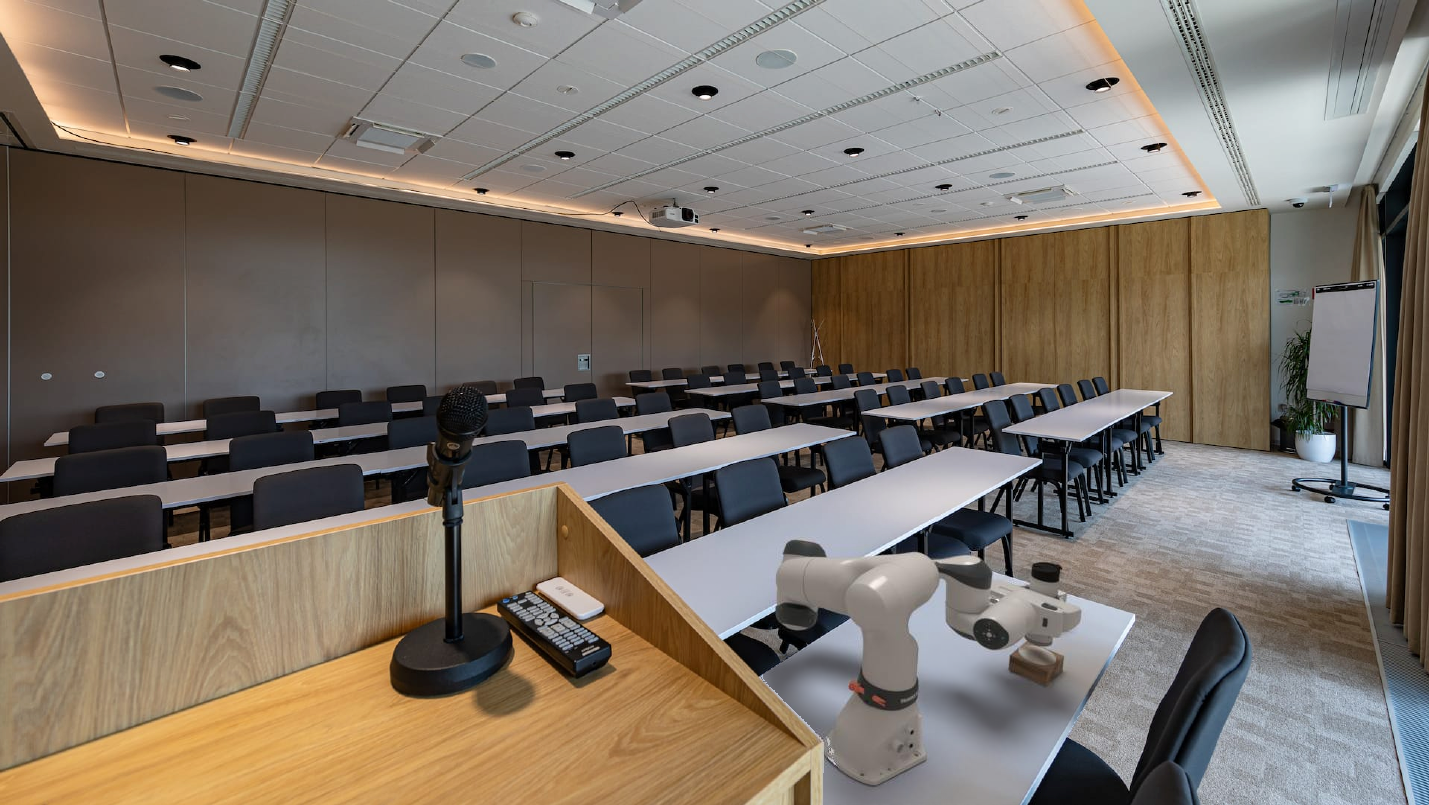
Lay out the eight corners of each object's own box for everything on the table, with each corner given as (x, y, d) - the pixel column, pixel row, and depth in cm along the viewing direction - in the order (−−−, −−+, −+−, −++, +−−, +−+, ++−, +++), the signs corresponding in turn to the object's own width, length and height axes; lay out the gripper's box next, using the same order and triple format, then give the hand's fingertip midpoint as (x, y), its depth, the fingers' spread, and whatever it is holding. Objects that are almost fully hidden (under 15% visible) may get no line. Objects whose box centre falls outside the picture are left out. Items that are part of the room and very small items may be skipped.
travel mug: (1057, 649, 148) (1066, 571, 145) (1028, 645, 149) (1036, 568, 146) (1049, 635, 154) (1057, 561, 151) (1021, 632, 155) (1028, 558, 152)
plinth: (1046, 686, 147) (1047, 670, 146) (1008, 669, 153) (1009, 654, 153) (1062, 670, 153) (1064, 655, 152) (1025, 654, 160) (1027, 639, 159)
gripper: (976, 606, 150) (1001, 589, 159) (1065, 641, 135) (1088, 620, 144) (978, 582, 149) (1003, 567, 158) (1068, 615, 134) (1091, 595, 143)
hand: (1044, 592), depth 151 cm, fingers closed on travel mug, 6 cm apart
